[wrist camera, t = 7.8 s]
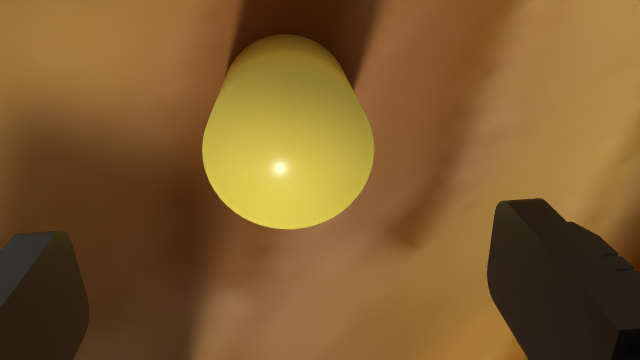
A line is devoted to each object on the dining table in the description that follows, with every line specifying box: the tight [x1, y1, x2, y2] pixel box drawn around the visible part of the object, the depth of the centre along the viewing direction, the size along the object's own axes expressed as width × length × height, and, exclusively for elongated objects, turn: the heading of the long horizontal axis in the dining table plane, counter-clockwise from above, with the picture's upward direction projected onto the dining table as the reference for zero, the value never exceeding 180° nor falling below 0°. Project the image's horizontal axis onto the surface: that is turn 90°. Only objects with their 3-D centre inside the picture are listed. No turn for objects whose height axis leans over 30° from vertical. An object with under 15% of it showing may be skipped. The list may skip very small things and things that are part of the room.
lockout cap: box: [202, 34, 374, 229], centre depth 18 cm, size 5×5×6 cm
